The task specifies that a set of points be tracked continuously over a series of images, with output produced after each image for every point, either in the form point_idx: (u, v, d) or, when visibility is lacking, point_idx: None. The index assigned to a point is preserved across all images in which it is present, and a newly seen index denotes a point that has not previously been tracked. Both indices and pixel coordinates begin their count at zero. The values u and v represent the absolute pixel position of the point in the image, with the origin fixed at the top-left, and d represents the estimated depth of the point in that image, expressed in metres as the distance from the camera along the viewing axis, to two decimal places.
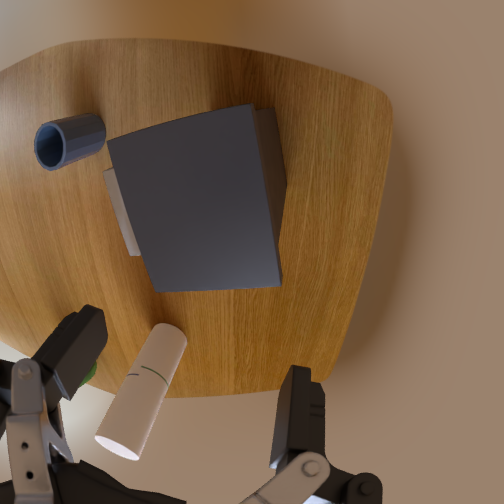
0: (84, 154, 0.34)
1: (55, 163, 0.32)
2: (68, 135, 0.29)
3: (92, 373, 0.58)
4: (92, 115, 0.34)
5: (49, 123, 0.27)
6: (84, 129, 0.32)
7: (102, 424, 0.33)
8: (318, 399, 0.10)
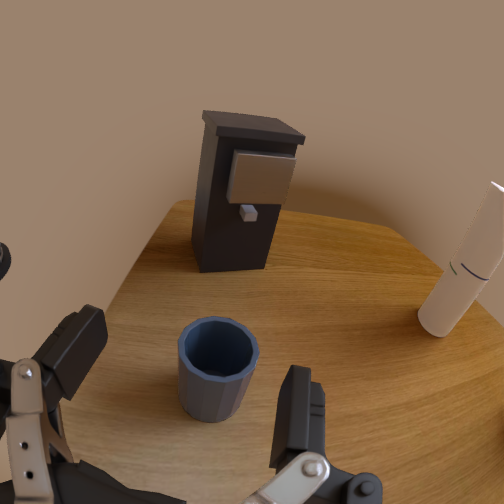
0: None
1: (248, 364, 0.24)
2: None
3: None
4: None
5: (181, 339, 0.22)
6: None
7: None
8: (318, 399, 0.10)
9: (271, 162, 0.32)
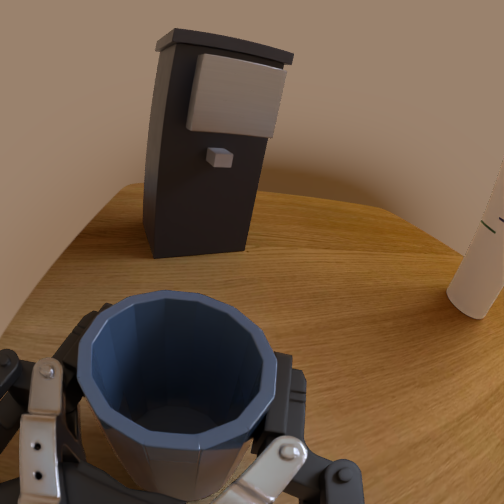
0: None
1: (252, 391, 0.10)
2: None
3: None
4: None
5: (85, 340, 0.08)
6: None
7: None
8: (299, 386, 0.10)
9: (252, 71, 0.19)
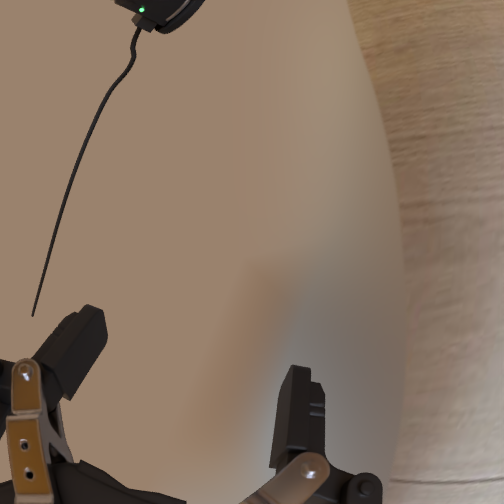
0: None
1: None
2: None
3: None
4: None
5: None
6: None
7: None
8: (318, 399, 0.10)
9: None
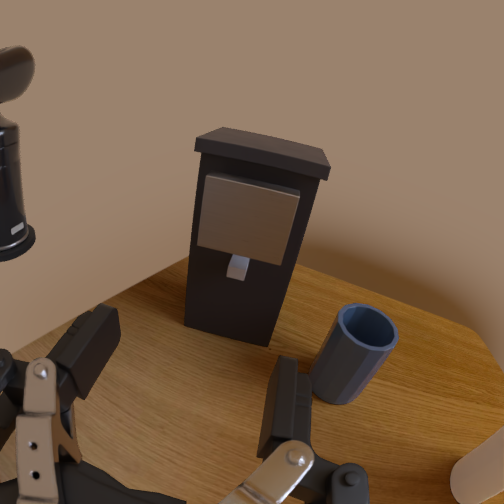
0: None
1: None
2: None
3: None
4: None
5: (341, 312, 0.27)
6: None
7: None
8: (305, 389, 0.10)
9: (256, 196, 0.21)
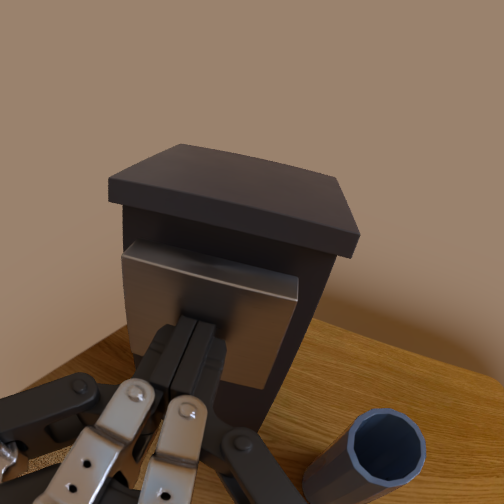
0: None
1: (407, 466, 0.14)
2: None
3: None
4: (315, 458, 0.21)
5: (352, 430, 0.16)
6: None
7: None
8: (218, 354, 0.11)
9: (214, 296, 0.11)
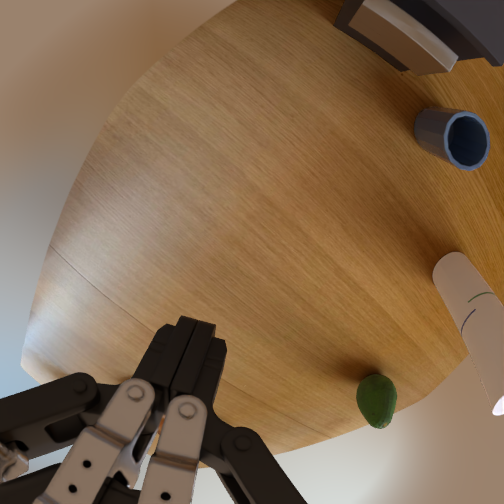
0: None
1: (469, 160, 0.25)
2: None
3: (395, 391, 0.47)
4: (433, 107, 0.29)
5: (456, 115, 0.22)
6: None
7: (493, 384, 0.20)
8: (218, 354, 0.11)
9: (410, 43, 0.13)
